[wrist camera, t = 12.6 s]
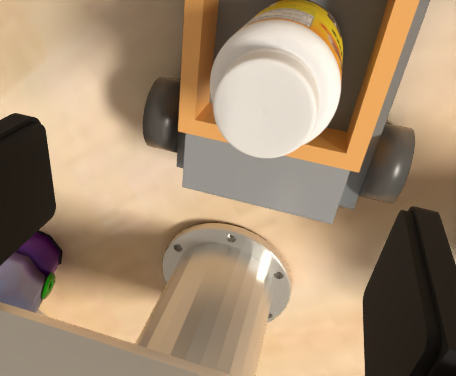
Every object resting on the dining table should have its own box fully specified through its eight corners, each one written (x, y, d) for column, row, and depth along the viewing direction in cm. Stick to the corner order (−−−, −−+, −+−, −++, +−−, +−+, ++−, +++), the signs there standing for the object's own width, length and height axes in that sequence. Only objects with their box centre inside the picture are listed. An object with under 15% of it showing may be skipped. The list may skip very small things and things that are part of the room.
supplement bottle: (332, 101, 25) (322, 190, 16) (242, 87, 25) (189, 164, 17) (355, 1, 21) (357, 46, 13) (252, -12, 22) (192, 24, 14)
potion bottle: (84, 281, 46) (11, 377, 36) (21, 272, 48) (-64, 360, 38) (62, 220, 41) (-28, 309, 32) (-7, 212, 44) (-111, 294, 34)
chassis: (380, 189, 31) (385, 244, 25) (168, 140, 33) (133, 180, 28) (516, -152, 19) (577, -183, 14) (181, -188, 22) (126, -225, 17)
